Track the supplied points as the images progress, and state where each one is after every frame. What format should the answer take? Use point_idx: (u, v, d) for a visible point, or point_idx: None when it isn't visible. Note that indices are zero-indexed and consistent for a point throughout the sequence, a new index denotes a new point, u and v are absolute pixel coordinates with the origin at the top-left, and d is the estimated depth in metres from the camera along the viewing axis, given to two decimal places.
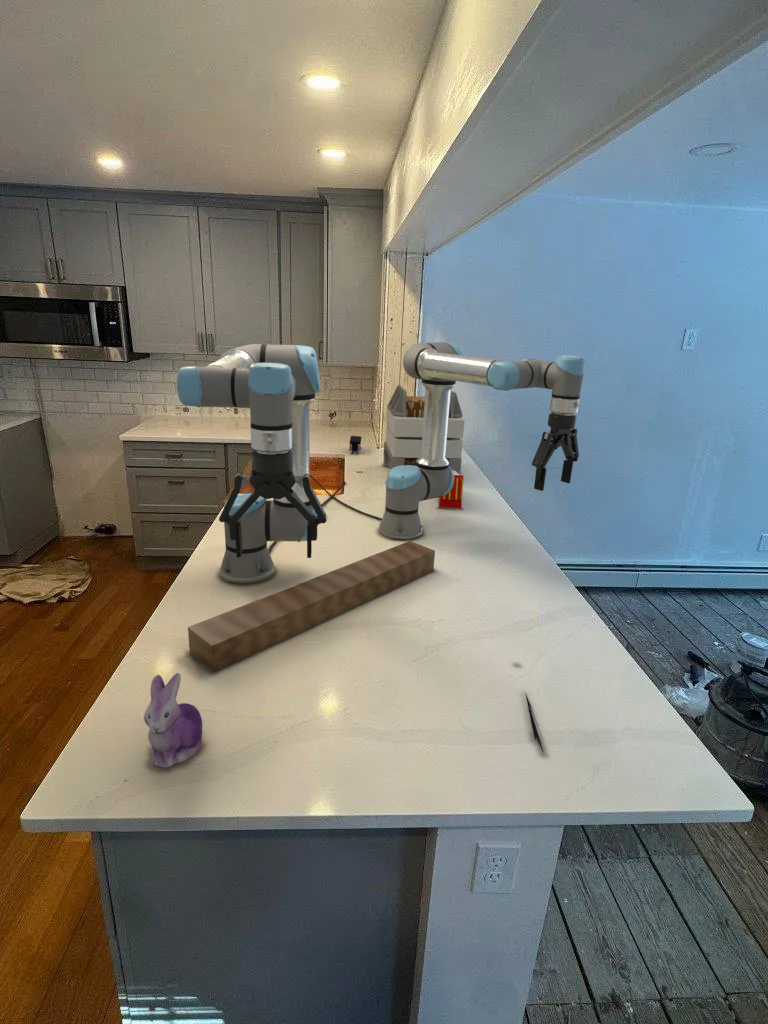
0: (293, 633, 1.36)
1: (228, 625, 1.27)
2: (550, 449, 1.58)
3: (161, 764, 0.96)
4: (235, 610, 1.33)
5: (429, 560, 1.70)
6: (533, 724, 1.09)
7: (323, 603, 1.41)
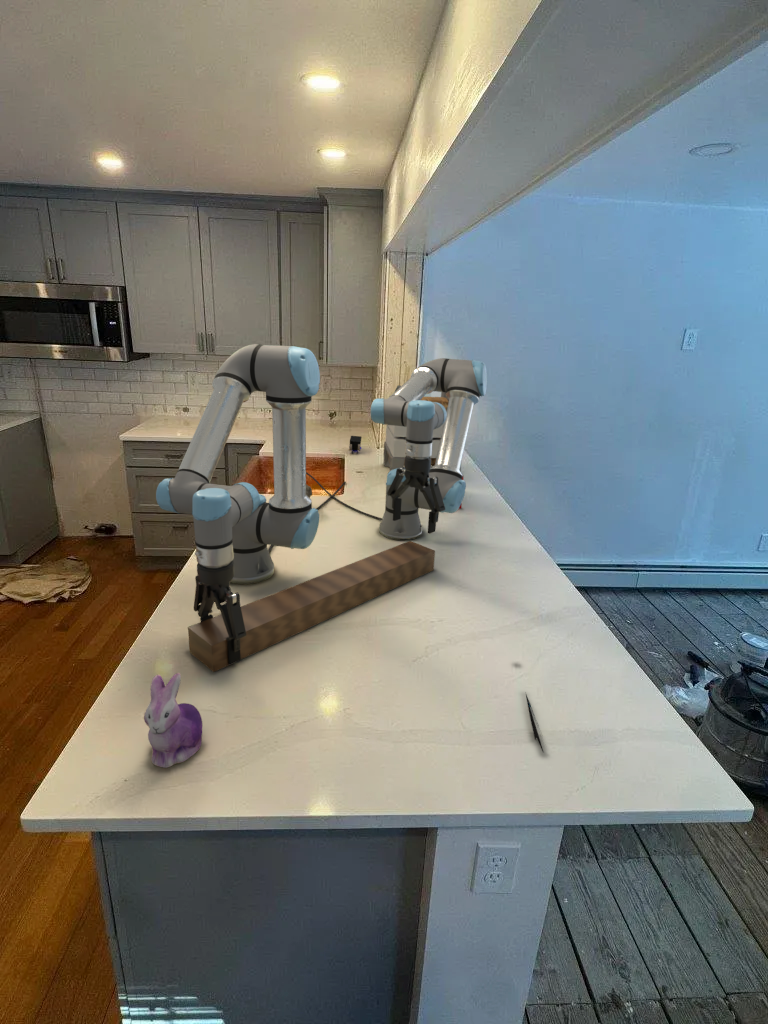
0: (293, 633, 1.36)
1: None
2: None
3: (161, 764, 0.96)
4: None
5: (429, 560, 1.70)
6: (533, 724, 1.09)
7: (323, 603, 1.41)
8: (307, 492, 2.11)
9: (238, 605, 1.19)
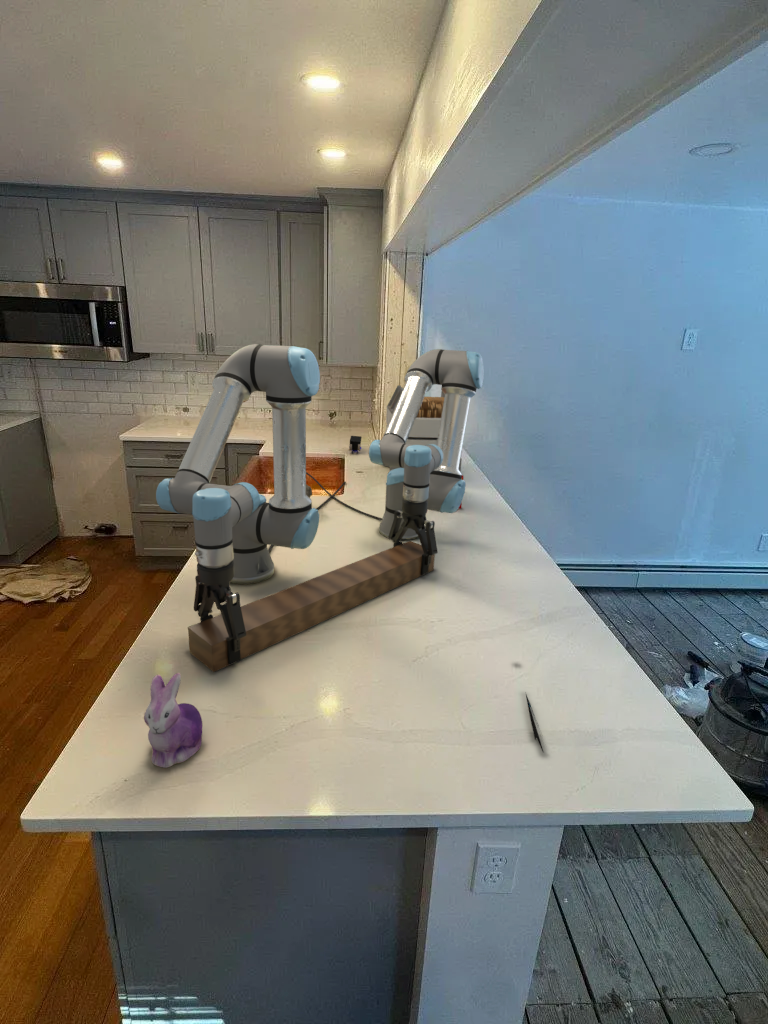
0: (293, 633, 1.36)
1: None
2: None
3: (161, 764, 0.96)
4: None
5: None
6: (533, 724, 1.09)
7: (323, 603, 1.41)
8: (307, 492, 2.11)
9: (238, 605, 1.19)
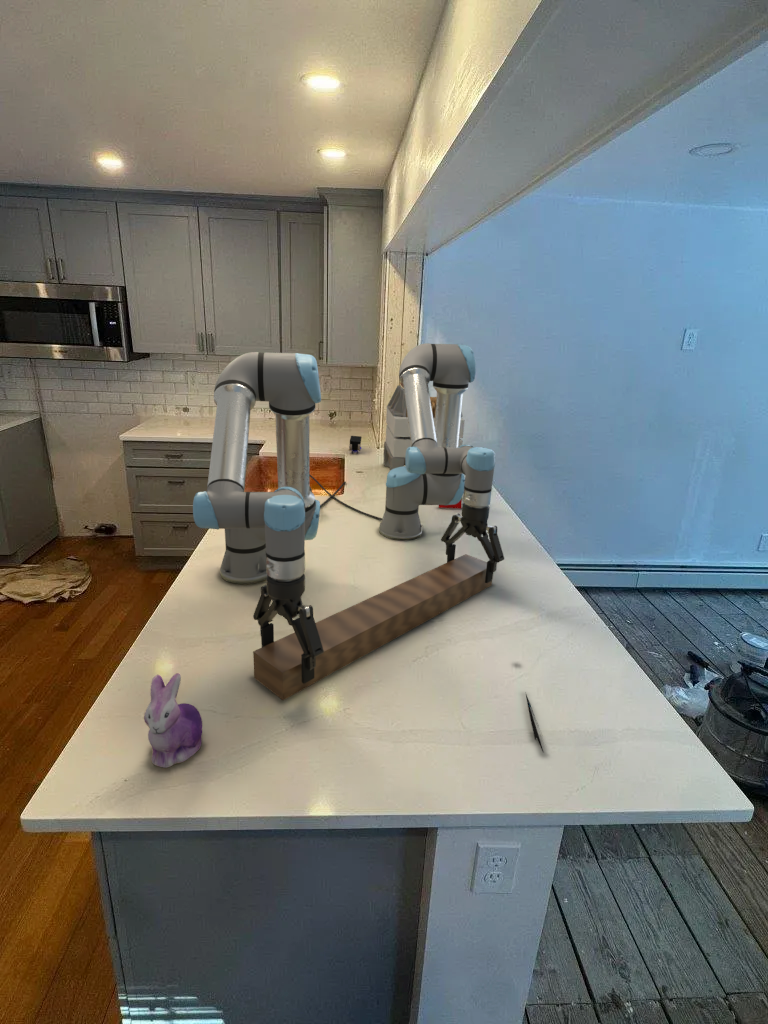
0: (359, 656, 1.28)
1: (295, 649, 1.19)
2: (457, 532, 1.63)
3: (161, 764, 0.96)
4: None
5: None
6: (533, 724, 1.09)
7: (389, 623, 1.33)
8: None
9: (312, 619, 1.10)
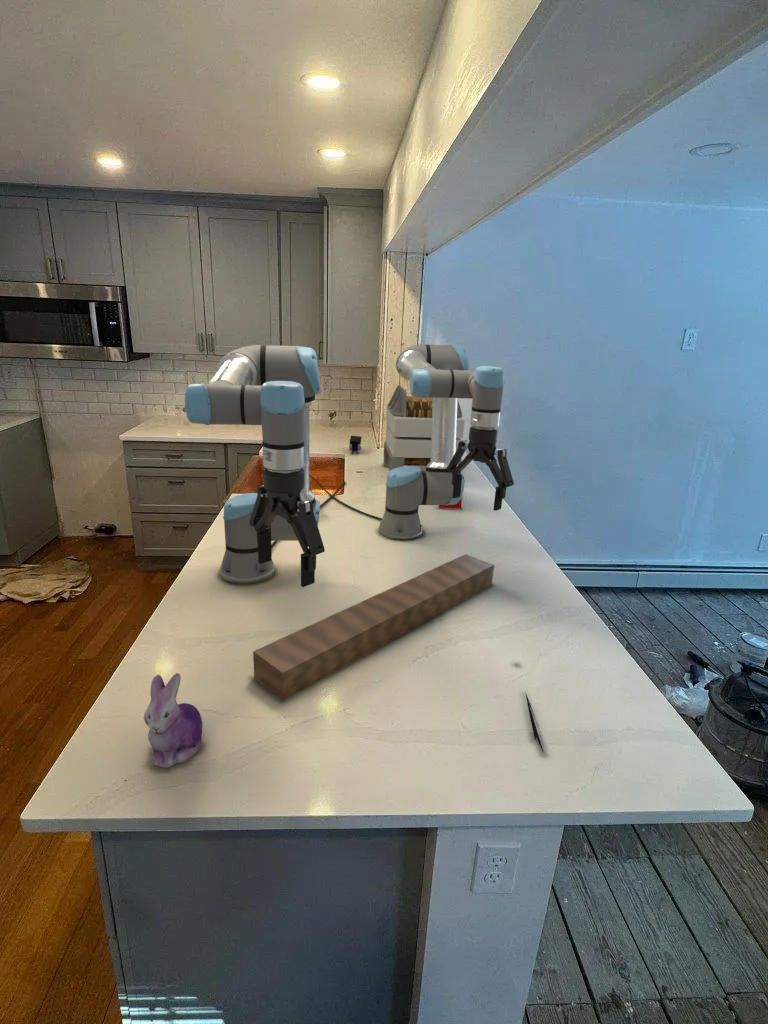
0: (359, 656, 1.28)
1: (295, 649, 1.19)
2: None
3: (161, 764, 0.96)
4: (299, 632, 1.25)
5: (489, 575, 1.63)
6: (533, 724, 1.09)
7: (388, 623, 1.33)
8: None
9: (312, 515, 1.02)
